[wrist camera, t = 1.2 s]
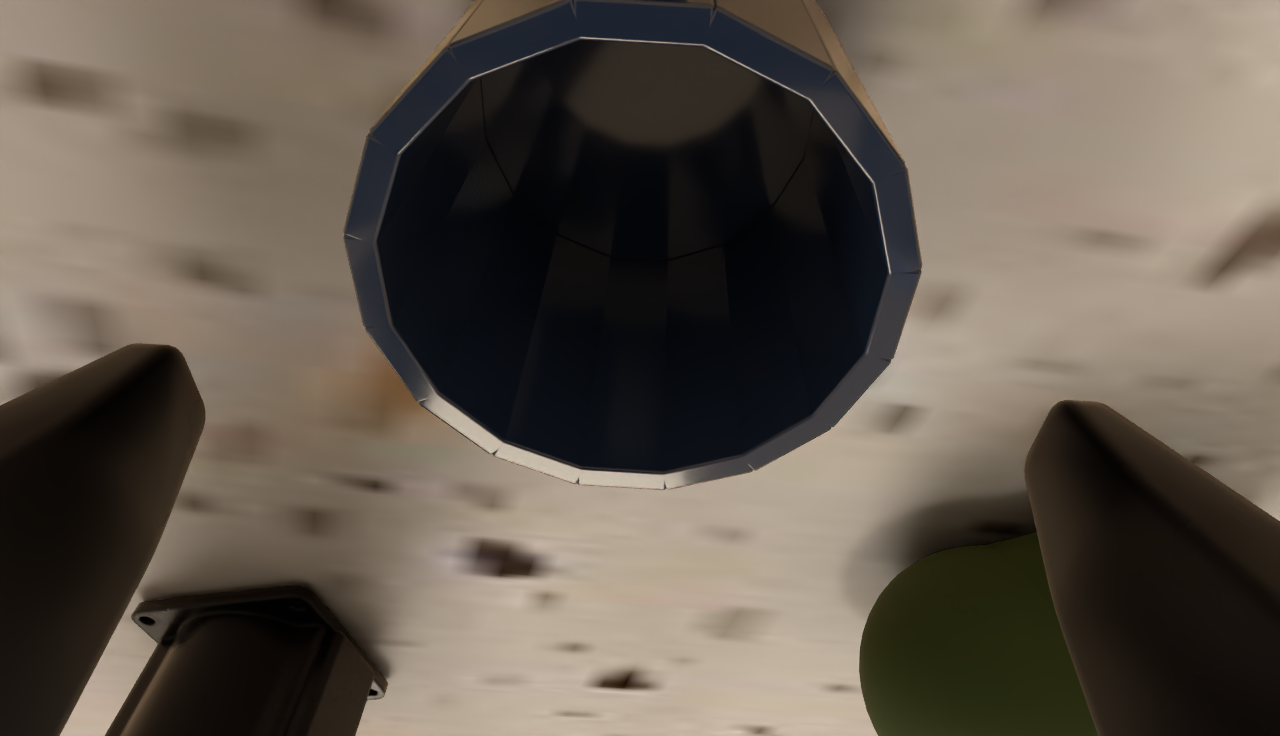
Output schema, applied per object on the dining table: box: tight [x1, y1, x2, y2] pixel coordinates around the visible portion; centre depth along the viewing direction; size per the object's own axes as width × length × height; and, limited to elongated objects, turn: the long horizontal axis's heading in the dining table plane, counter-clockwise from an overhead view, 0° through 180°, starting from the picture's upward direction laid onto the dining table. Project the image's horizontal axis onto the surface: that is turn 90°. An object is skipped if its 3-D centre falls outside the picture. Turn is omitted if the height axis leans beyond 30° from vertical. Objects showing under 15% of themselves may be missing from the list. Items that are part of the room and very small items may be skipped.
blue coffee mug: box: [343, 0, 922, 490], centre depth 11 cm, size 10×7×6 cm
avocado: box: [859, 532, 1098, 736], centre depth 19 cm, size 11×7×7 cm, turn 117°
